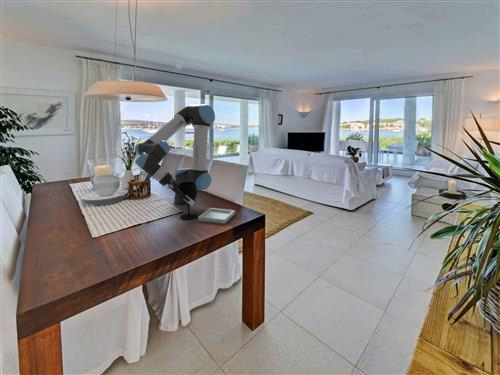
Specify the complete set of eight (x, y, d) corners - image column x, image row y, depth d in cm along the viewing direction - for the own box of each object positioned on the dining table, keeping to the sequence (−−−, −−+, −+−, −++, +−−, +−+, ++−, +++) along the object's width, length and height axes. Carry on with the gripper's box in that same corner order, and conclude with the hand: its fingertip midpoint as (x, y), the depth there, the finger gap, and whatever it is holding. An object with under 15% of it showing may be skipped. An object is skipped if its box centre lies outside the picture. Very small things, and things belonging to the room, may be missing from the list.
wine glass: (200, 214, 149) (199, 181, 144) (195, 220, 139) (193, 185, 134) (183, 213, 150) (181, 181, 145) (177, 219, 140) (174, 185, 135)
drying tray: (210, 211, 153) (210, 207, 153) (234, 214, 149) (234, 210, 148) (198, 220, 138) (198, 216, 138) (225, 224, 134) (225, 219, 133)
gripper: (158, 177, 145) (186, 199, 154) (157, 186, 123) (189, 212, 131) (167, 167, 146) (194, 190, 154) (167, 175, 123) (199, 202, 131)
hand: (192, 200), depth 143 cm, fingers open, 12 cm apart
